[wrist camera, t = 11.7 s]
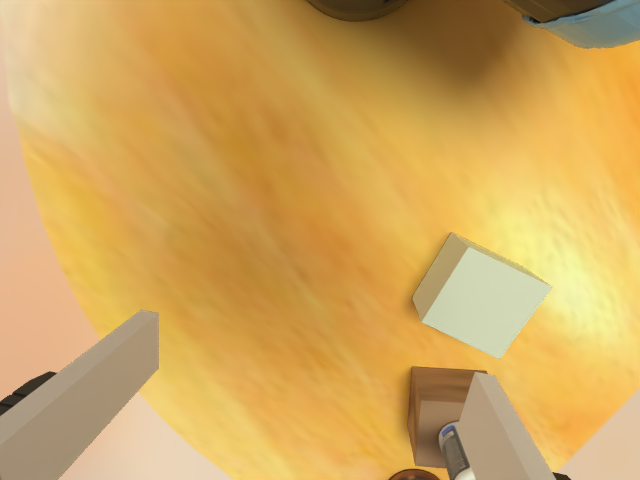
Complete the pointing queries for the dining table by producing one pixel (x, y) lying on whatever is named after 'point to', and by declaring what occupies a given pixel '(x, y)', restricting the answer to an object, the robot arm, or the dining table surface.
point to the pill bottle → (455, 453)
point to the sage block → (478, 296)
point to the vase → (414, 475)
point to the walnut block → (435, 409)
